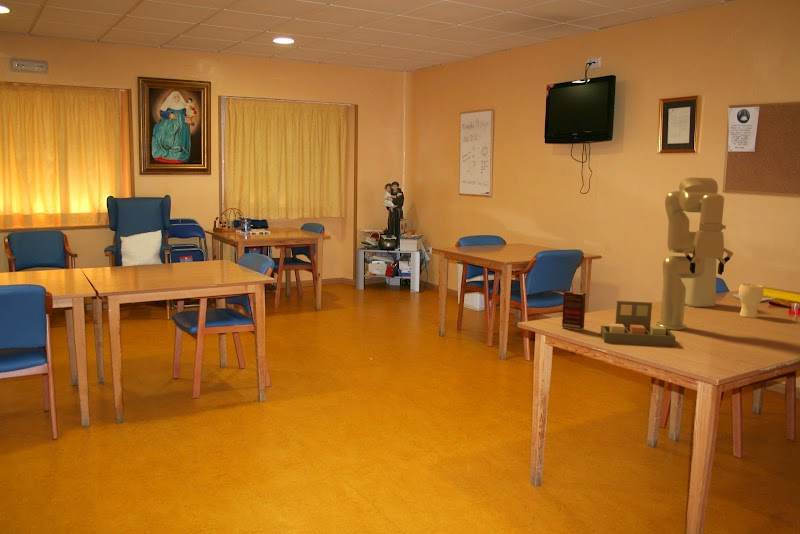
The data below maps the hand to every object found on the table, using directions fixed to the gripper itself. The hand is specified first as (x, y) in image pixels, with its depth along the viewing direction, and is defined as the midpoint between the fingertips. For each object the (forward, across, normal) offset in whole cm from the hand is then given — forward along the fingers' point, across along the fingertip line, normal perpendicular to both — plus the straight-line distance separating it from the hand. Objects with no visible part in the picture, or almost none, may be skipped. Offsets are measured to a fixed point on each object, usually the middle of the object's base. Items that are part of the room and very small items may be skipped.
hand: (706, 273), depth 260 cm
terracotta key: (+29, +20, -16) cm, 38 cm away
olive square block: (+29, +12, -16) cm, 35 cm away
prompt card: (+31, +20, -26) cm, 46 cm away
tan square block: (+29, +28, -16) cm, 43 cm away
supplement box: (+31, +44, -31) cm, 62 cm away
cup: (+31, -43, -78) cm, 94 cm away
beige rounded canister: (+31, -25, -101) cm, 109 cm away
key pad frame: (+31, +20, -16) cm, 40 cm away
